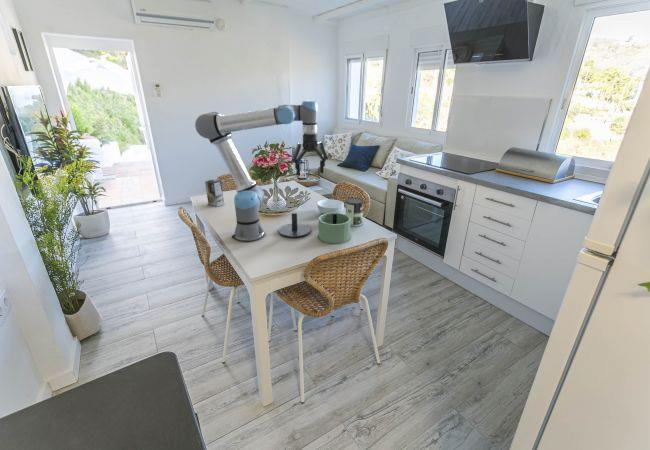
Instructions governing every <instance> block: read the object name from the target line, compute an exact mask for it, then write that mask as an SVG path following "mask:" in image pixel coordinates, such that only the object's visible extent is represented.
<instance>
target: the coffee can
mask: <svg viewBox="0 0 650 450" xmlns="http://www.w3.org/2000/svg"><path fill="white" fill-rule="evenodd" d="M363 212H364V200H363V198H359V197H348V198H346V199H345V213H344V214H345V215H347V216H349V217H350V219H351V222H350V227H359V226H361V225H363Z"/></svg>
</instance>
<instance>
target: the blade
mask: <svg viewBox="0 0 650 450" xmlns="http://www.w3.org/2000/svg"><path fill="white" fill-rule="evenodd" d="M332 224H337V213H336V212H334V213H333V222H332Z"/></svg>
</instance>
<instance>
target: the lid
mask: <svg viewBox="0 0 650 450" xmlns="http://www.w3.org/2000/svg"><path fill="white" fill-rule="evenodd" d="M311 230H312V229H311V227H310V226H309V225H307V224H305V223H299V222H298V212H297V211H292V212H291V223H286V224H283V225H282V226H280V227H279V229H278V233H279V234H280V235H281V236H283V237H286V238H287V237H288V238H302V237H305V236H307V235H309V234H311Z"/></svg>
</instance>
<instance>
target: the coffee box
mask: <svg viewBox="0 0 650 450" xmlns="http://www.w3.org/2000/svg"><path fill="white" fill-rule="evenodd" d="M204 186H205V191H206V197H207V204H208V205H210V206H214V207H220V206H223V205H225V201H224V194H223V193H224V192H223V186H222V181H221V180H217V179H209V180H206V181H204Z"/></svg>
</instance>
